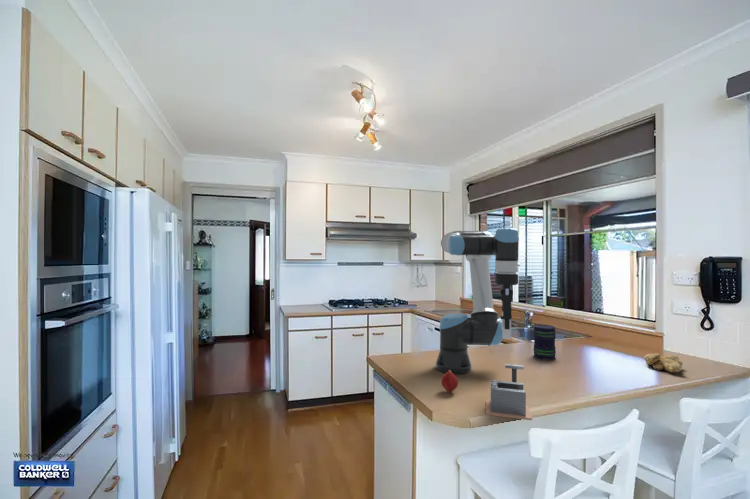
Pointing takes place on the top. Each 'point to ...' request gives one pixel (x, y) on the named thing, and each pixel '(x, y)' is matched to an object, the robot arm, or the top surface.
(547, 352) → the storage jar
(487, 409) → the tile
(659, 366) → the ginger root
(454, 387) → the onion
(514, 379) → the post stand
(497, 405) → the c link
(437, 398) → the top surface
